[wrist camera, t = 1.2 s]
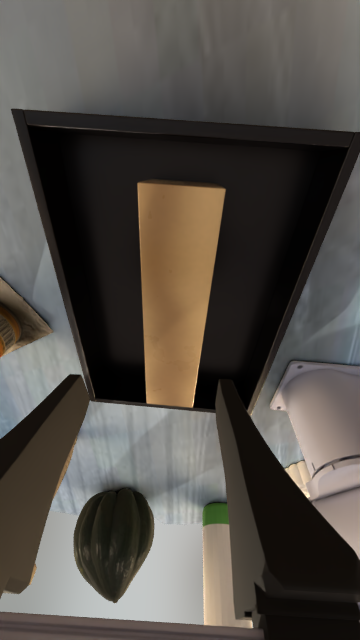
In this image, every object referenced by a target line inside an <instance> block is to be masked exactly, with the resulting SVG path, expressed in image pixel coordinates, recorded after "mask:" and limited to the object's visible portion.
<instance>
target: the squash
mask: <svg viewBox="0 0 360 640" xmlns="http://www.w3.org/2000/svg"><path fill="white" fill-rule="evenodd" d="M153 537H154V517H153V513H152V511H151V509H150V507H149V505H148V503H147V500H146V499H145V497H144V496H143V495H142V494H141V493H139V492H132V491H131V490H130V489H126V488H125V489H122V490H120V491H119V492H118V494H117V493H116V492H114V491H110V492H101V493H98V494H96V495H94V496H93V497H91V498H90V499H89V500H88V501H87V503H86V504H85V506H84V507H83V509H82V511H81V513H80V515H79V518H78V520H77V524H76V527H75V531H74V557H75V561H76V564H77V567H78V569H79V571H80V573H81V574H82V576H83V577H84V579H85V580H86V581H87V582H88V583H89V584H90V585H91V586H92V587H93V588H94V589H95V590H96V591H97V592H98V593H99V594H101V595H102V596H103V597H104V598H105V599H107V600H109V601H113V603H116V602H117V601H118V600H119V599H120V598H121V597H122V596H123V594H124V593H125V591H126V590H127V588H128V586H129V585H130V583H131V581H132V580H133V578H134V577H135V575H136V573H137V572H138V570H139V569H140V567H141V566H142V564H143V562H144V561H145V558H146V557H147V555H148V553H149V551H150V548H151V546H152V542H153Z"/></svg>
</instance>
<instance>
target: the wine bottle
mask: <svg viewBox="0 0 360 640" xmlns="http://www.w3.org/2000/svg"><path fill="white" fill-rule="evenodd" d="M203 586H204V625H211V626H227V627H242V628H252V621H251V620H236V619H235V612H234V602H233V583H232V565H231V548H230V533H229V518H228V505H227V504H226V503H212V504H208V505H206V506H205V507H204V510H203Z"/></svg>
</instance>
